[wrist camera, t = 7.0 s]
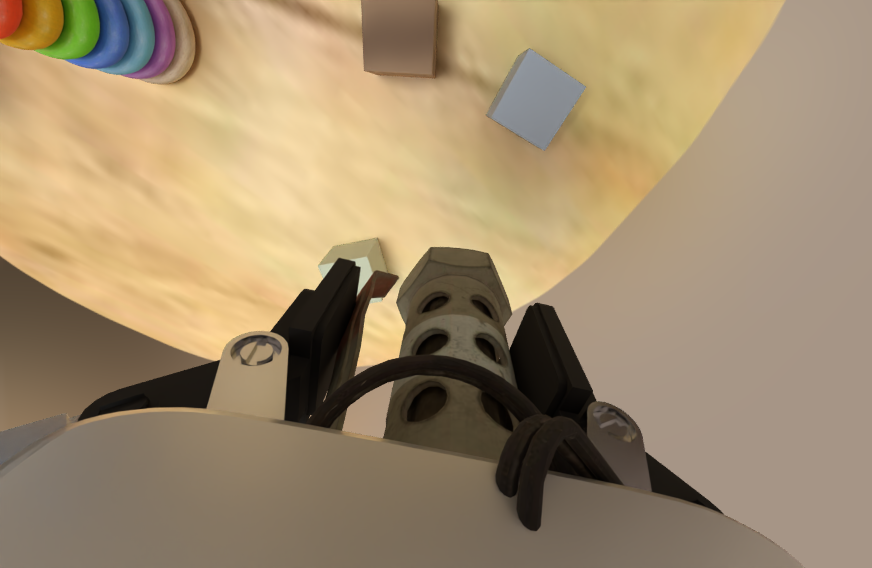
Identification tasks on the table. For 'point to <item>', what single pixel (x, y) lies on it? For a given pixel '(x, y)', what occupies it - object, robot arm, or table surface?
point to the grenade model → (460, 380)
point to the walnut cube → (400, 37)
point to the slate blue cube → (535, 99)
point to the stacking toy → (105, 35)
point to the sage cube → (357, 260)
